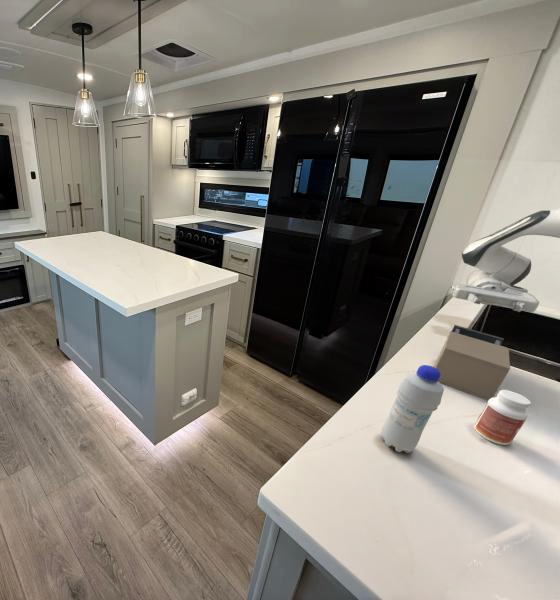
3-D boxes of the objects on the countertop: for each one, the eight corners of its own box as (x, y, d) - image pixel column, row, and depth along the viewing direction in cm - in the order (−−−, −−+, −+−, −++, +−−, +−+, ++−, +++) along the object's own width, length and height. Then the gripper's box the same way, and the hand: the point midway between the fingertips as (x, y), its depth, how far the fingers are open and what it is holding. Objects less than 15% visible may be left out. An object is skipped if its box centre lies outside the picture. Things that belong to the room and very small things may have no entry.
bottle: (370, 434, 69) (401, 360, 61) (391, 428, 71) (425, 356, 63) (399, 460, 63) (438, 381, 55) (422, 452, 65) (463, 375, 57)
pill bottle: (515, 450, 67) (542, 411, 63) (477, 438, 70) (501, 399, 65) (503, 431, 72) (528, 393, 68) (469, 420, 75) (490, 383, 70)
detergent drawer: (444, 343, 108) (455, 320, 104) (490, 357, 100) (503, 333, 97) (438, 362, 96) (450, 338, 93) (489, 380, 89) (504, 354, 85)
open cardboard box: (436, 359, 99) (450, 331, 95) (490, 378, 91) (508, 348, 87) (430, 378, 90) (445, 347, 85) (490, 401, 82) (510, 368, 77)
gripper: (453, 277, 113) (459, 288, 103) (533, 289, 103) (548, 304, 93) (446, 292, 116) (451, 305, 106) (524, 306, 106) (537, 322, 95)
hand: (497, 305), depth 99 cm, fingers open, 8 cm apart
